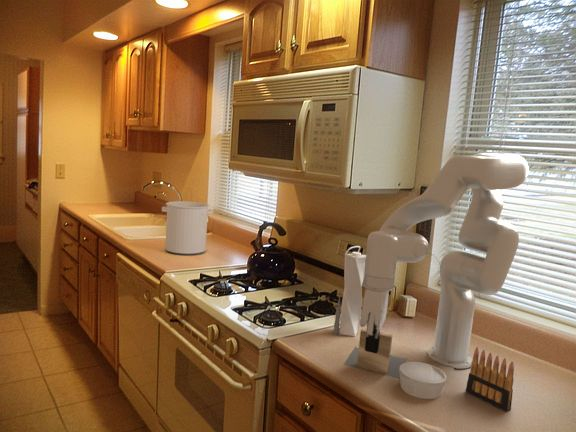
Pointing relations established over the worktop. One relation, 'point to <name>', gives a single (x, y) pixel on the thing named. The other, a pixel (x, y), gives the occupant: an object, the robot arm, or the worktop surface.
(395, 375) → the mat
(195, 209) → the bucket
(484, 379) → the ammunition clip
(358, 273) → the skyscraper
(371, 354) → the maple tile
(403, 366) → the ramekin
